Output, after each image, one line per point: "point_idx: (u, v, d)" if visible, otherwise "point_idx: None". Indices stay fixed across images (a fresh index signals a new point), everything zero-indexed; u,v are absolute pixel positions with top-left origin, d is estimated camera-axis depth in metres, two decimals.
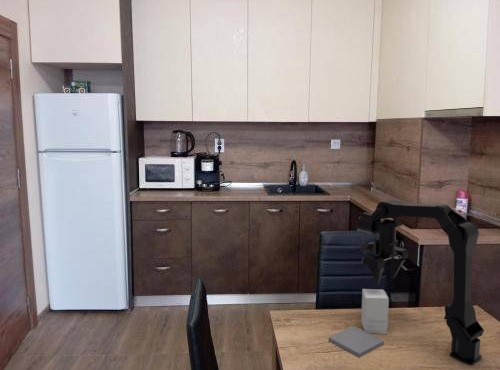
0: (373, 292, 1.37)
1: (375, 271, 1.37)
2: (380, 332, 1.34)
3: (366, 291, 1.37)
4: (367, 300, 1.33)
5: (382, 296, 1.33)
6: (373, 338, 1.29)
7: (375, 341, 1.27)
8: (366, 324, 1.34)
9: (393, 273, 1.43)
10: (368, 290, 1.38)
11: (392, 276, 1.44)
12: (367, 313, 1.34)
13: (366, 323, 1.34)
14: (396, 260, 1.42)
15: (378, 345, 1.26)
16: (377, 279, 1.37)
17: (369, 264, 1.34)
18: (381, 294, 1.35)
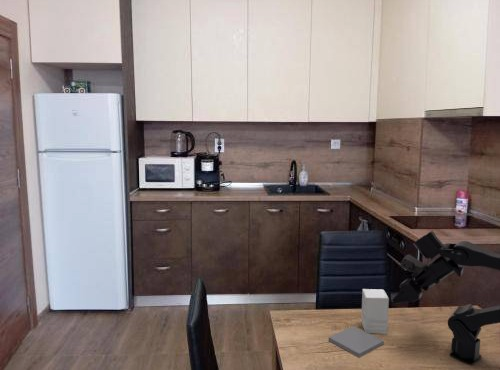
0: (373, 292, 1.37)
1: (404, 295, 1.24)
2: (380, 332, 1.34)
3: (366, 291, 1.37)
4: (367, 300, 1.33)
5: (382, 296, 1.33)
6: (373, 338, 1.29)
7: (375, 341, 1.27)
8: (366, 324, 1.34)
9: None
10: (368, 290, 1.38)
11: None
12: (367, 313, 1.34)
13: (366, 323, 1.34)
14: None
15: (378, 345, 1.26)
16: (399, 301, 1.26)
17: (408, 294, 1.20)
18: (381, 294, 1.35)
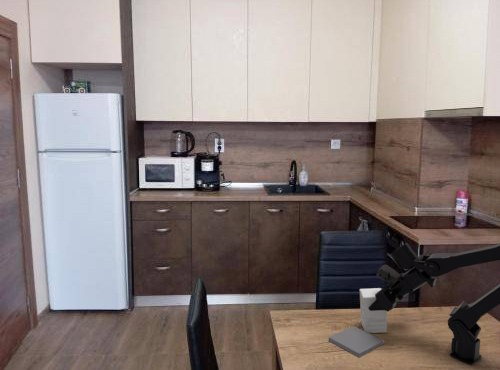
0: (370, 291, 1.37)
1: (379, 304, 1.30)
2: (380, 331, 1.34)
3: (364, 291, 1.37)
4: (365, 300, 1.33)
5: None
6: (373, 338, 1.29)
7: (375, 341, 1.27)
8: (365, 324, 1.34)
9: None
10: (365, 290, 1.38)
11: None
12: (365, 313, 1.34)
13: (365, 323, 1.34)
14: None
15: (378, 345, 1.26)
16: (374, 309, 1.31)
17: (383, 303, 1.25)
18: None
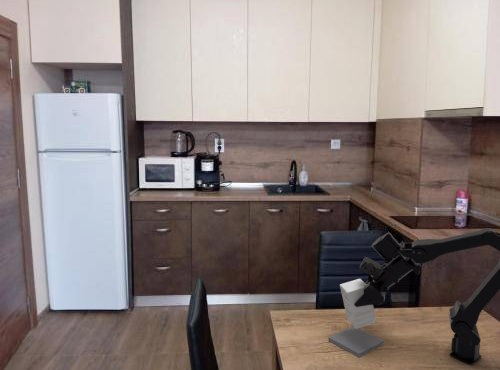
0: (351, 284, 1.30)
1: (366, 298, 1.24)
2: (369, 323, 1.28)
3: (345, 286, 1.31)
4: (349, 295, 1.26)
5: (362, 286, 1.28)
6: (373, 338, 1.29)
7: (375, 341, 1.27)
8: (354, 319, 1.27)
9: None
10: (346, 284, 1.31)
11: None
12: (352, 308, 1.27)
13: (354, 318, 1.27)
14: None
15: (378, 345, 1.26)
16: (361, 304, 1.25)
17: (373, 297, 1.19)
18: (360, 284, 1.29)
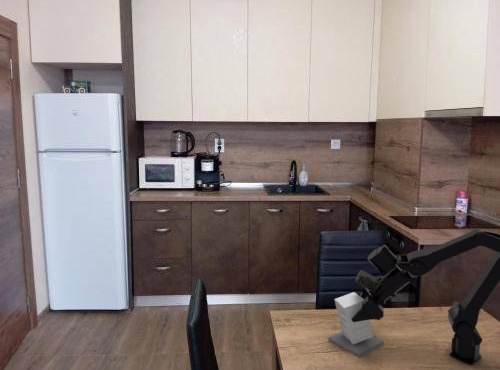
0: (347, 298, 1.28)
1: (364, 313, 1.21)
2: (366, 337, 1.26)
3: (340, 300, 1.27)
4: (346, 310, 1.23)
5: (358, 300, 1.25)
6: (373, 338, 1.29)
7: (375, 341, 1.27)
8: (351, 335, 1.24)
9: None
10: (341, 299, 1.28)
11: None
12: (349, 323, 1.24)
13: (351, 334, 1.24)
14: None
15: (378, 345, 1.26)
16: (359, 320, 1.22)
17: (373, 312, 1.17)
18: (355, 298, 1.26)
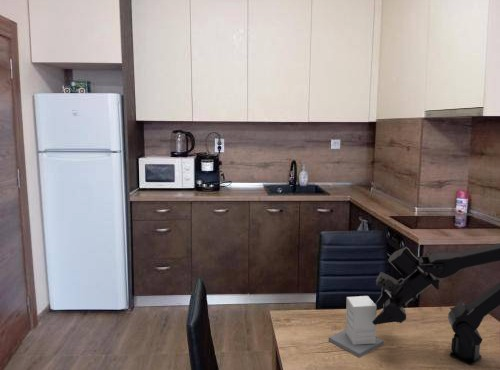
0: (359, 299, 1.28)
1: (386, 316, 1.20)
2: (368, 342, 1.26)
3: (352, 300, 1.28)
4: (355, 309, 1.24)
5: (369, 304, 1.25)
6: None
7: (375, 341, 1.27)
8: (354, 335, 1.25)
9: (377, 307, 1.30)
10: (353, 298, 1.29)
11: None
12: (355, 323, 1.24)
13: (354, 334, 1.25)
14: (390, 299, 1.29)
15: (378, 345, 1.26)
16: (380, 322, 1.21)
17: (395, 315, 1.15)
18: (367, 301, 1.26)
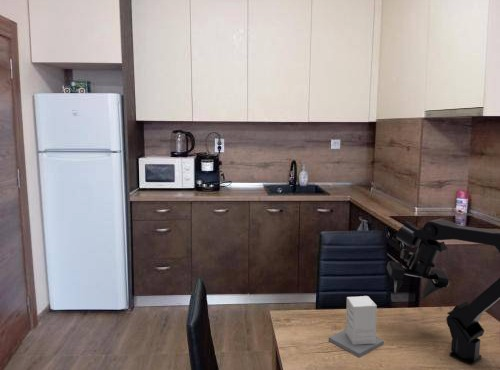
0: (359, 299, 1.28)
1: (396, 280, 1.32)
2: (368, 342, 1.26)
3: (352, 300, 1.28)
4: (355, 309, 1.24)
5: (370, 304, 1.25)
6: None
7: (375, 341, 1.27)
8: (354, 335, 1.25)
9: (424, 293, 1.34)
10: (353, 298, 1.29)
11: (422, 296, 1.34)
12: (355, 323, 1.24)
13: (354, 334, 1.25)
14: (431, 283, 1.31)
15: (378, 345, 1.26)
16: (395, 288, 1.33)
17: (389, 270, 1.31)
18: (367, 301, 1.26)
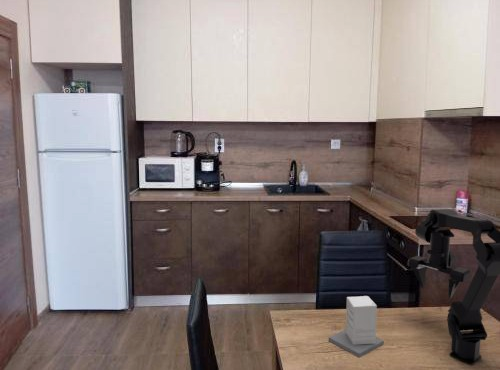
0: (359, 299, 1.28)
1: None
2: (368, 342, 1.26)
3: (352, 300, 1.28)
4: (355, 309, 1.24)
5: (369, 304, 1.25)
6: None
7: (375, 341, 1.27)
8: (354, 335, 1.25)
9: None
10: (353, 298, 1.29)
11: None
12: (355, 323, 1.24)
13: (354, 334, 1.25)
14: None
15: (378, 345, 1.26)
16: None
17: None
18: (367, 301, 1.26)
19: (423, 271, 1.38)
